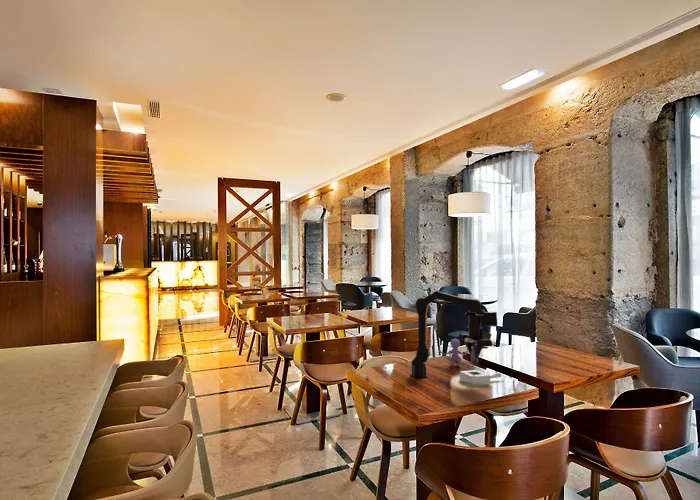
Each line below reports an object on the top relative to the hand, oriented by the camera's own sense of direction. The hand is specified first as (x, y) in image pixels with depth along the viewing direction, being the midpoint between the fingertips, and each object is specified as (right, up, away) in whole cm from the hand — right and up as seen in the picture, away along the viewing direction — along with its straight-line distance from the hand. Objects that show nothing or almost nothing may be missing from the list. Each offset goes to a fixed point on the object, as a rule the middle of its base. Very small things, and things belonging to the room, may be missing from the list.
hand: (474, 357), depth 192 cm
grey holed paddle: (+5, -12, +1) cm, 13 cm away
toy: (-2, -13, +30) cm, 33 cm away
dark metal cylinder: (0, -2, 0) cm, 2 cm away
